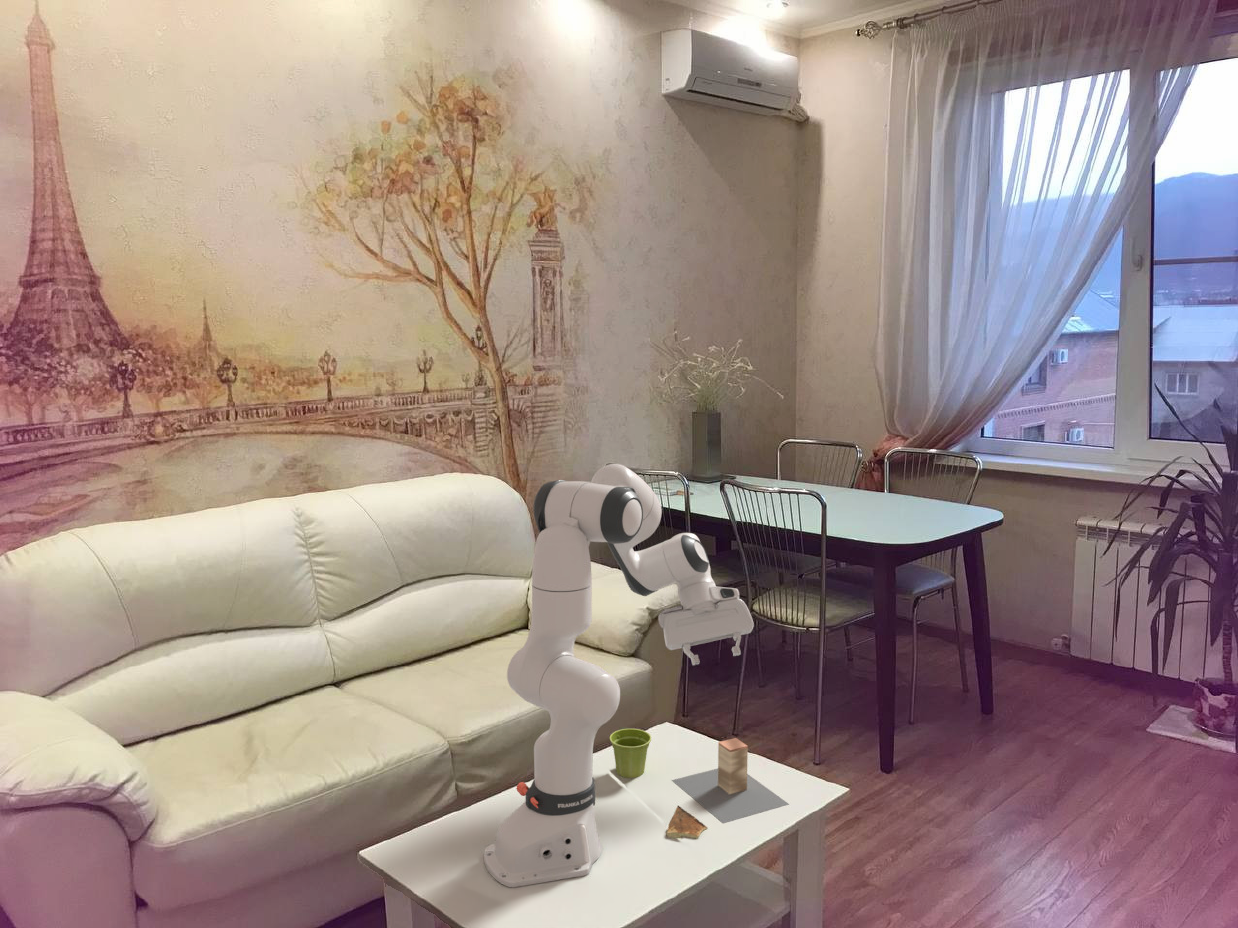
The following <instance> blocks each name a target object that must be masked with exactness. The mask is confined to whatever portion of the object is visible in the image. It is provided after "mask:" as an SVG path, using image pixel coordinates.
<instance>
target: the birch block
mask: <svg viewBox="0 0 1238 928" xmlns="http://www.w3.org/2000/svg"><path fill="white" fill-rule="evenodd" d="M748 747H749V746H748V745H747V744H746V743H744V742H743V741H741V740H740V739H739V738H737V737H734V738H729V739H726V740H722V741H718V747H717V748H718V751H717V752H718V753H717V756H718V757H717V758H718V759H717V760H718V761H717V763H718V764H717V768H718V786H719V787H721V788H722V789H723V790H725V791H726V792H727V793H728V794H733V793H737V792H740V791H744V790H747V774H748V757H749V756H748V753H749V748H748Z"/></svg>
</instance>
